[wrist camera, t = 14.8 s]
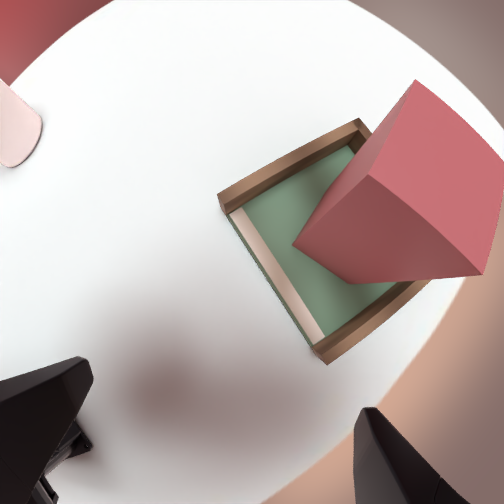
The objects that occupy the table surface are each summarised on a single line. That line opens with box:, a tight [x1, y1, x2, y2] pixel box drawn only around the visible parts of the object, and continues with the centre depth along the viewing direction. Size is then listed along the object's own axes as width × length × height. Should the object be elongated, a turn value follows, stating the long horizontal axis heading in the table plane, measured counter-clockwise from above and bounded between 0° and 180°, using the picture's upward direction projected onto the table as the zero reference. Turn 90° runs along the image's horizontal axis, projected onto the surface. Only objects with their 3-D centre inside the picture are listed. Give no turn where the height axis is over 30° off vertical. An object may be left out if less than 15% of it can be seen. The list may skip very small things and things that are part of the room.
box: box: [217, 118, 432, 365], centre depth 19 cm, size 12×13×3 cm
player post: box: [292, 79, 504, 284], centre depth 14 cm, size 5×5×13 cm
